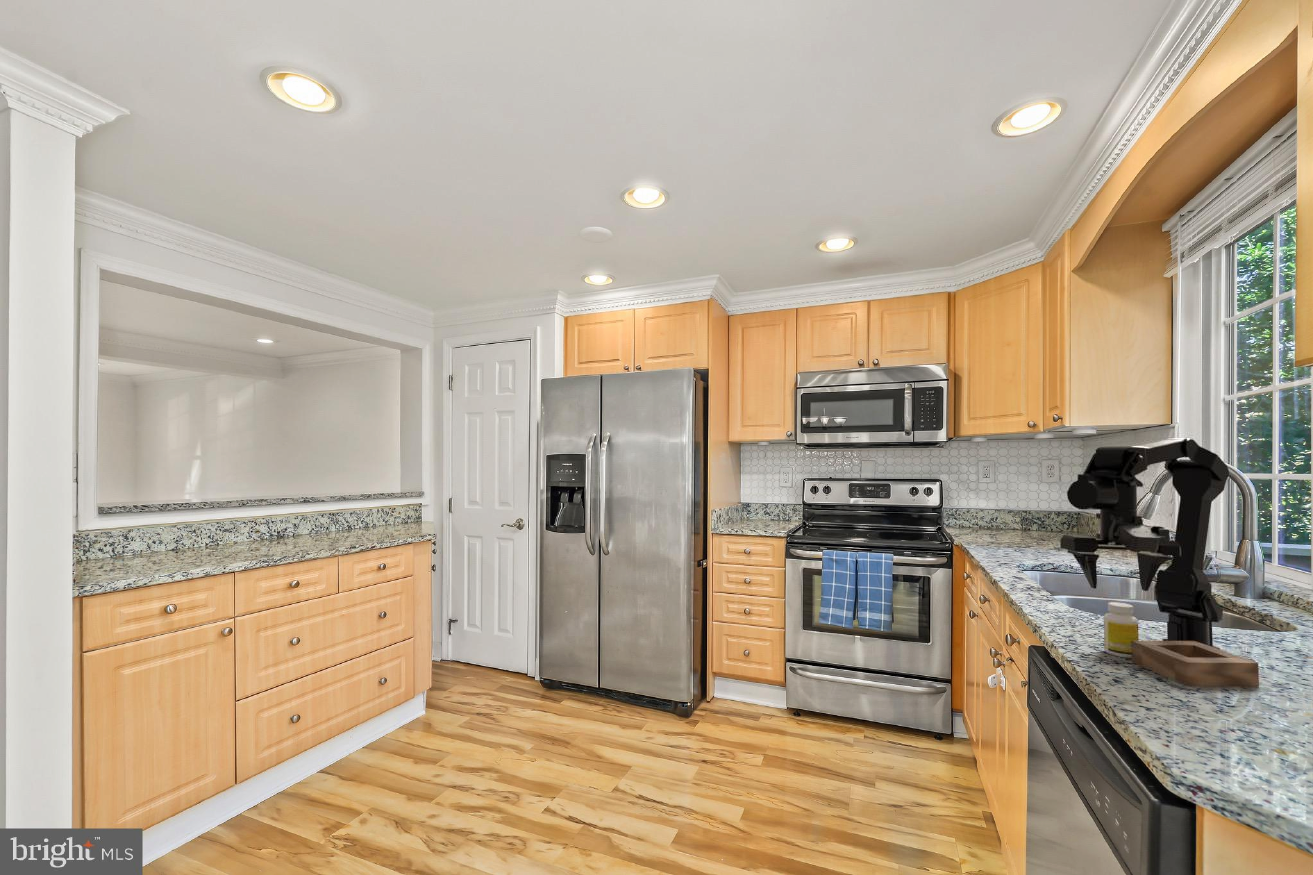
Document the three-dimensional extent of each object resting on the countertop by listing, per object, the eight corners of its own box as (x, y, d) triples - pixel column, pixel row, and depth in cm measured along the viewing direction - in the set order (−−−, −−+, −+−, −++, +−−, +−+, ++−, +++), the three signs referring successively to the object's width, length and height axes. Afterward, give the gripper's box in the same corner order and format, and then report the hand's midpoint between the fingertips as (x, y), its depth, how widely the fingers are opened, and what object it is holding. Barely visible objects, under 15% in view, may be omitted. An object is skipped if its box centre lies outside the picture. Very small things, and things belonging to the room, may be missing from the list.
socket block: (1195, 662, 112) (1194, 640, 112) (1259, 686, 100) (1258, 662, 100) (1132, 661, 112) (1131, 640, 112) (1187, 686, 100) (1187, 662, 100)
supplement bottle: (1145, 659, 113) (1144, 608, 114) (1113, 657, 114) (1112, 607, 115) (1129, 650, 119) (1127, 601, 119) (1098, 648, 120) (1097, 600, 120)
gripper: (1091, 511, 109) (1092, 595, 108) (1203, 514, 106) (1204, 601, 106) (1058, 506, 120) (1059, 583, 119) (1159, 510, 117) (1160, 588, 117)
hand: (1119, 589), depth 115 cm, fingers open, 9 cm apart
